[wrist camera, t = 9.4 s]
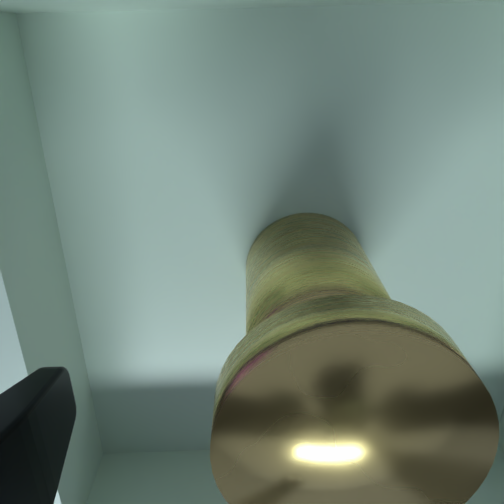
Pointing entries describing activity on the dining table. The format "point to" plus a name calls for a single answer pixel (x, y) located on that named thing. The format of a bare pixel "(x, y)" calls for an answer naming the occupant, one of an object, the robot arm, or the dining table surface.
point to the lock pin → (343, 385)
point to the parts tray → (232, 199)
